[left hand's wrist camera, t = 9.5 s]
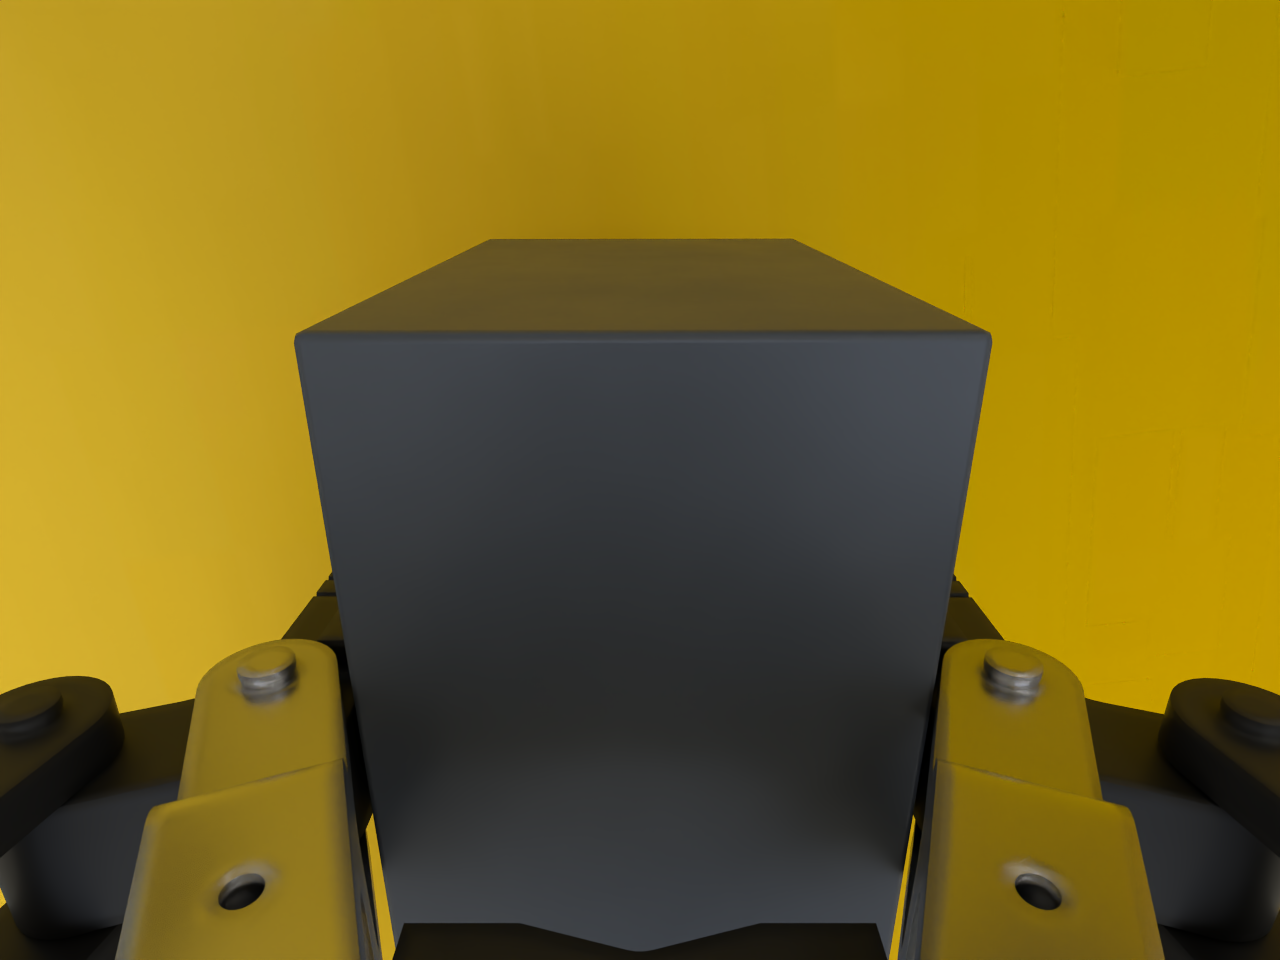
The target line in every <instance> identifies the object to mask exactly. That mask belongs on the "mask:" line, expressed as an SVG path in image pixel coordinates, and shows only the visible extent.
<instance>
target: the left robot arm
mask: <svg viewBox="0 0 1280 960" xmlns="http://www.w3.org/2000/svg"><path fill="white" fill-rule="evenodd" d="M372 813H373V810H372V804H371V798H370V792H369V787H368V781H367V775H366V769H365V763H364V757H363V751H362V745H361V739H360V733H359V727H358V721H357V715H356V709H355V703H354V697H353V691H352V685H351V679H350V673H349V667H348V661H347V655H346V649H345V644H344V638H343V632H342V626H341V620H340V614H339V608H338V602H337V596H336V590H335V584H334V578H333V572H332V573H331V574H330V575H329V580H326V581H325V582H324V583H323V585H322V586H321V587H320V589H319V590H318V591H317V596H314V597H313V598H312V599H311V601H310V602H309V603H308V605H307V606H306V607H305V608H304V610H303V611H302V612H301V614H300V615H299V616H298V618H297V619H296V620H295V622H294V623H293V624H292V626H291V627H290V628H289V630H288V631H287V632H286V634H285V635H284V636H283V638H282V639H281V640H276V641H270V642H266V643H261V644H258V645H255V646H251V647H248V648H246V649H243V650H241V651H239V652H236V653H234V654H232V655H230V656H229V657H227V658H225V659H223V660H222V661H220V662H219V663H217V664H216V665H215V666H214V667H212V668H211V669H210V670H209V671H208V672H207V673H206V674H205V675H204V676H203V678H202V679H201V681H200V683H199V685H198V688H197V691H196V696H195V699H191V700H186V701H182V702H177V703H172V704H167V705H161V706H156V707H151V708H146V709H141V710H136V711H131V712H125V713H120V714H119V711H118V708H117V705H116V702H115V698H114V695H113V692H112V690H111V688H110V686H109V685H108V684H107V683H106V682H104V681H102V680H100V679H97V678H92V677H86V676H66V677H59V678H52V679H47V680H42V681H38V682H35V683H31V684H27V685H24V686H21V687H19V688H16V689H13V690H10V691H8V692H6V693H3V694H1V695H0V888H1V890H2V893H3V895H4V898H5V900H6V902H7V903H5V904H4V905H3V906H2V907H1V908H0V960H382V952H381V943H380V935H379V926H378V918H377V909H376V901H375V892H374V883H373V875H372V866H371V858H370V849H369V843H368V837H367V831H366V828H367V825H368V823H369V820H370V818H371V816H372ZM913 815H914V817H915V825H914V831H913V837H912V843H911V849H910V858H909V866H908V875H907V883H906V892H905V900H904V909H903V917H902V926H901V935H900V943H899V952H898V960H1280V695H1277V694H1275V693H1272V692H1270V691H1267V690H1264V689H1261V688H1258V687H1255V686H1252V685H1248V684H1244V683H1240V682H1235V681H1230V680H1223V679H1214V678H1199V679H1191V680H1187V681H1184V682H1181V683H1179V684H1178V685H1176V686H1175V687H1174V688H1173V690H1172V692H1171V694H1170V697H1169V700H1168V704H1167V707H1166V710H1165V714H1159V713H1154V712H1149V711H1144V710H1138V709H1133V708H1128V707H1123V706H1118V705H1113V704H1108V703H1103V702H1099V701H1094V700H1091V699H1087V698H1085V697H1084V691H1083V688H1082V685H1081V683H1080V681H1079V679H1078V678H1077V676H1076V675H1075V674H1074V673H1073V672H1072V671H1071V670H1070V669H1069V668H1068V667H1066V666H1065V665H1064V664H1063V663H1061V662H1060V661H1058V660H1057V659H1055V658H1053V657H1051V656H1050V655H1048V654H1046V653H1044V652H1041V651H1039V650H1037V649H1034V648H1032V647H1029V646H1025V645H1022V644H1019V643H1014V642H1010V641H1005V640H1004V639H1003V638H1002V636H1001V635H1000V634H999V632H998V631H997V630H996V629H995V627H994V626H993V625H992V623H991V622H990V621H989V619H988V618H987V617H986V616H985V614H984V613H983V612H982V610H981V609H980V608H979V606H978V605H977V604H976V602H975V601H974V600H973V599H972V597H968V592H967V591H966V589H965V588H964V587H963V586H962V584H961V583H960V582H959V581H956V576H955V575H954V574H953V579H952V585H951V591H950V597H949V603H948V609H947V615H946V621H945V627H944V633H943V638H942V644H941V650H940V656H939V662H938V668H937V674H936V680H935V686H934V692H933V698H932V704H931V710H930V716H929V722H928V728H927V734H926V740H925V746H924V752H923V758H922V764H921V769H920V775H919V781H918V787H917V793H916V799H915V805H914V811H913ZM393 960H887V956H886V953H885V950H884V947H883V943H882V940H881V937H880V934H879V931H878V927H877V924H876V923H758V924H754V925H750V926H746V927H742V928H738V929H734V930H730V931H726V932H722V933H718V934H714V935H710V936H706V937H702V938H698V939H694V940H690V941H686V942H682V943H678V944H674V945H670V946H666V947H662V948H658V949H655V950H649V951H631V950H625V949H622V948H618V947H614V946H610V945H606V944H602V943H598V942H594V941H590V940H586V939H582V938H578V937H574V936H570V935H566V934H562V933H558V932H554V931H550V930H546V929H542V928H538V927H534V926H530V925H526V924H522V923H404V924H403V927H402V931H401V934H400V937H399V940H398V943H397V947H396V950H395V953H394V956H393Z"/></svg>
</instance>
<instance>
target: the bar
mask: <svg viewBox="0 0 1280 960" xmlns="http://www.w3.org/2000/svg"><path fill="white" fill-rule="evenodd" d="M294 346H295V351H296V357H297V363H298V369H299V375H300V381H301V387H302V393H303V399H304V405H305V411H306V417H307V423H308V429H309V435H310V441H311V447H312V453H313V459H314V465H315V471H316V477H317V483H318V489H319V495H320V500H321V506H322V512H323V518H324V524H325V530H326V536H327V542H328V548H329V554H330V560H331V566H332V572H333V578H334V584H335V590H336V596H337V602H338V608H339V614H340V620H341V626H342V632H343V638H344V644H345V649H346V655H347V661H348V667H349V673H350V679H351V685H352V691H353V697H354V703H355V709H356V715H357V721H358V727H359V733H360V739H361V745H362V751H363V757H364V763H365V769H366V775H367V781H368V787H369V792H370V798H371V804H372V810H373V816H374V822H375V828H376V834H377V840H378V846H379V852H380V858H381V864H382V870H383V876H384V882H385V888H386V894H387V900H388V906H389V912H390V918H391V924H392V930H393V936H394V941H395V947H397V943H398V940H399V937H400V934H401V931H402V927H403V924H404V923H522V924H526V925H530V926H534V927H538V928H542V929H546V930H550V931H554V932H558V933H562V934H566V935H570V936H574V937H578V938H582V939H586V940H590V941H594V942H598V943H602V944H606V945H610V946H614V947H618V948H622V949H625V950H631V951H649V950H655V949H658V948H662V947H666V946H670V945H674V944H678V943H682V942H686V941H690V940H694V939H698V938H702V937H706V936H710V935H714V934H718V933H722V932H726V931H730V930H734V929H738V928H742V927H746V926H750V925H754V924H758V923H876V924H877V927H878V931H879V934H880V937H881V940H882V943H883V947H884V950H885V953H886V956H887V960H889V954H890V948H891V942H892V936H893V930H894V924H895V918H896V912H897V906H898V901H899V895H900V889H901V883H902V877H903V871H904V865H905V859H906V853H907V847H908V841H909V835H910V829H911V823H912V817H913V811H914V805H915V799H916V793H917V787H918V781H919V775H920V769H921V764H922V758H923V752H924V746H925V740H926V734H927V728H928V722H929V716H930V710H931V704H932V698H933V692H934V686H935V680H936V674H937V668H938V662H939V656H940V650H941V644H942V638H943V633H944V627H945V621H946V615H947V609H948V603H949V597H950V591H951V585H952V579H953V573H954V567H955V561H956V555H957V549H958V543H959V537H960V531H961V525H962V519H963V513H964V507H965V502H966V496H967V490H968V484H969V478H970V472H971V466H972V460H973V454H974V448H975V442H976V436H977V430H978V424H979V418H980V412H981V406H982V400H983V394H984V388H985V382H986V376H987V370H988V365H989V359H990V353H991V347H992V337H991V334H990V332H988V331H985V330H983V329H981V328H979V327H977V326H975V325H973V324H971V323H969V322H966V321H964V320H962V319H960V318H958V317H956V316H954V315H952V314H950V313H948V312H945V311H943V310H941V309H939V308H937V307H935V306H933V305H931V304H929V303H926V302H924V301H922V300H920V299H918V298H916V297H914V296H912V295H910V294H908V293H905V292H903V291H901V290H899V289H897V288H895V287H893V286H891V285H889V284H886V283H884V282H882V281H880V280H878V279H876V278H874V277H872V276H870V275H868V274H865V273H863V272H861V271H859V270H857V269H855V268H853V267H851V266H849V265H847V264H844V263H842V262H840V261H838V260H836V259H834V258H832V257H830V256H828V255H825V254H823V253H821V252H819V251H817V250H815V249H813V248H811V247H809V246H807V245H804V244H802V243H800V242H798V241H796V240H794V239H490V240H488V241H486V242H483V243H481V244H479V245H477V246H475V247H473V248H471V249H469V250H467V251H465V252H463V253H461V254H459V255H457V256H455V257H453V258H451V259H449V260H447V261H444V262H442V263H440V264H438V265H436V266H434V267H432V268H430V269H428V270H426V271H424V272H422V273H420V274H418V275H416V276H414V277H412V278H410V279H408V280H405V281H403V282H401V283H399V284H397V285H395V286H393V287H391V288H389V289H387V290H385V291H383V292H381V293H379V294H377V295H375V296H373V297H371V298H369V299H366V300H364V301H362V302H360V303H358V304H356V305H354V306H352V307H350V308H348V309H346V310H344V311H342V312H340V313H338V314H336V315H334V316H332V317H330V318H327V319H325V320H323V321H321V322H319V323H317V324H315V325H313V326H311V327H309V328H307V329H305V330H303V331H301V332H299V333H297V334H296V336H295V340H294Z"/></svg>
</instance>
